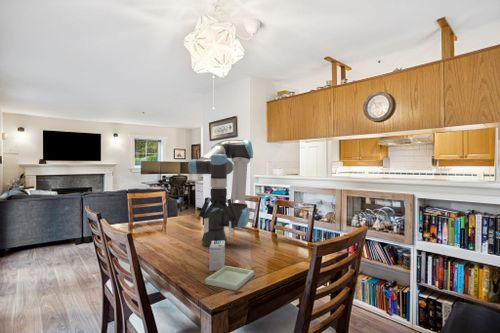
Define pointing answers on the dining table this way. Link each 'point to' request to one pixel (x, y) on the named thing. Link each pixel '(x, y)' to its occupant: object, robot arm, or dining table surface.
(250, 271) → the tray
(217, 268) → the light bulb box
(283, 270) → the dining table surface
